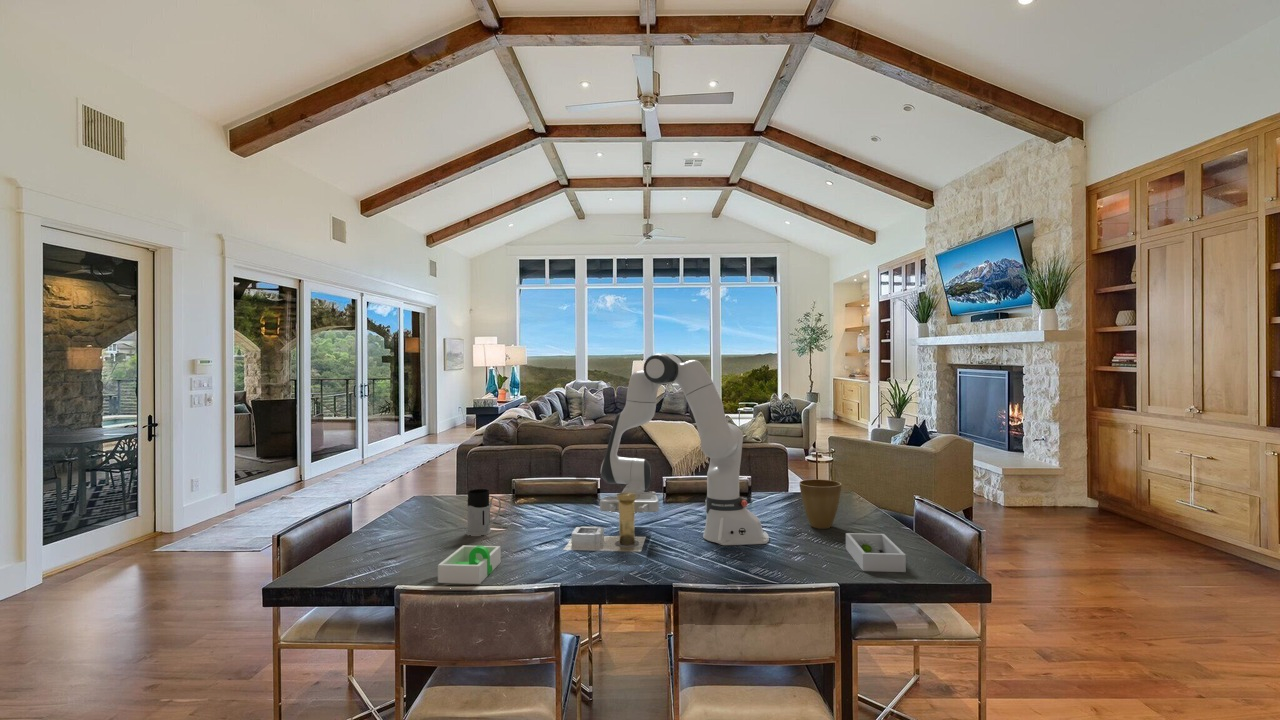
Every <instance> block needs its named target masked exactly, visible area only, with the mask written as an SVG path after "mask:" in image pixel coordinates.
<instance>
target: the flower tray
mask: <svg viewBox="0 0 1280 720" xmlns="http://www.w3.org/2000/svg"><path fill="white" fill-rule="evenodd" d="M859 539H861V540H862V541H863V539H865V540H866V542H867V541H868V540H869V541H870V543H871V542H874V543H875V544H874V545H877V546H878V547H877V548H879V549H880V550H879V551H882V552H880V553H878V552H877V553H874V552H873V553H865V552H864V551H863V549H862V548H861V547H860V546H859V545H858V542H856V540H858V541H859ZM863 542H864V541H863ZM859 544H860V543H859ZM845 549H846V551H847V552H848V553H849V555H850V556H851V557H852V558H853V560H854V562H856V564H857V565H858V566H859V568H860V569H861V570H862V571H863V572H891V573H892V572H893V573H907V569H906V568H907V566H906V565H907V564H906V563H907V559H906V553H905V552H903V551H902V550H901V549H900V548H899V547H898V546H897V545H896V544H895V543H894V542H893V541H892V540H891V539H890V538H889V537H888V536H887V535H886V534H885V533H863V532H862V533H860V532H859V533H858V532H857V533H856V532H854V533H853V532H852V533H851V532H847V533H846V532H845ZM876 550H877V549H876Z"/></svg>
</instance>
